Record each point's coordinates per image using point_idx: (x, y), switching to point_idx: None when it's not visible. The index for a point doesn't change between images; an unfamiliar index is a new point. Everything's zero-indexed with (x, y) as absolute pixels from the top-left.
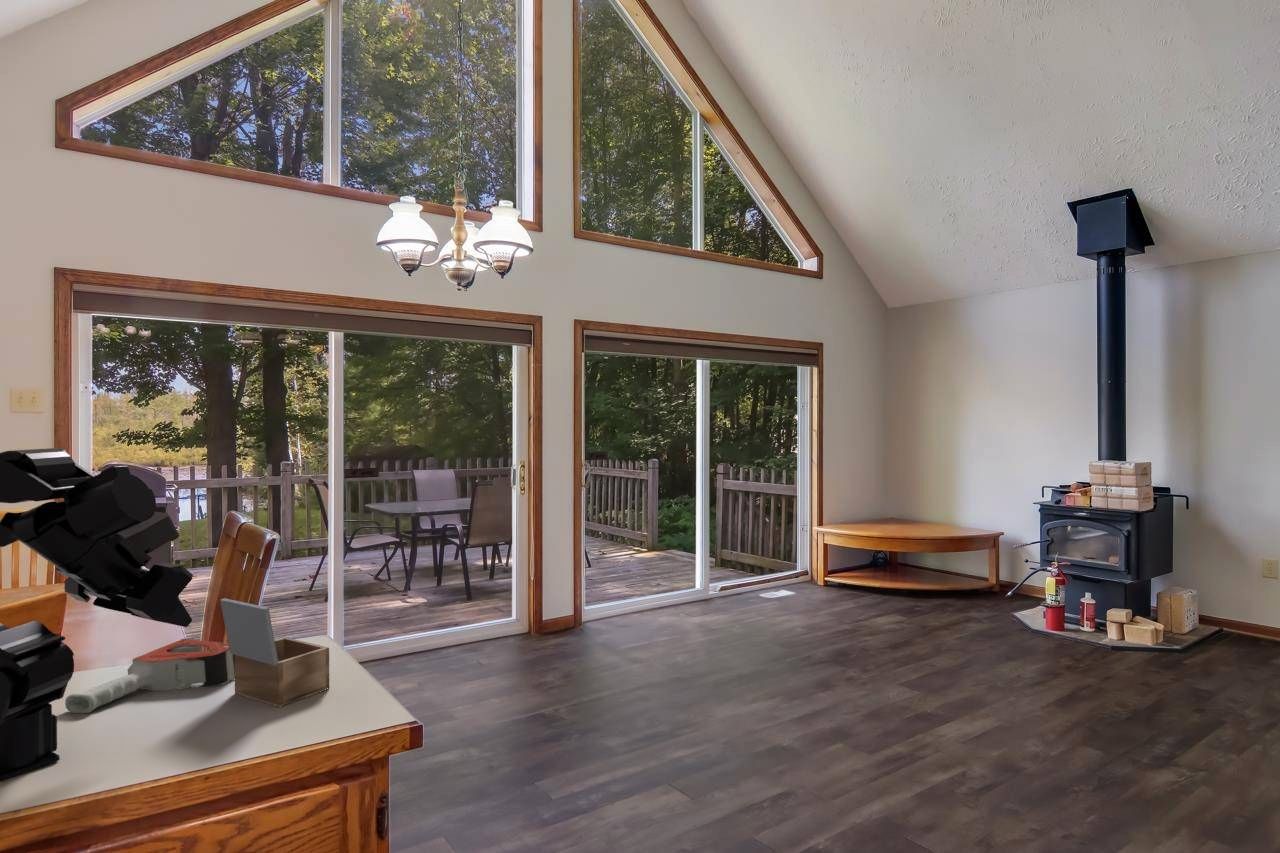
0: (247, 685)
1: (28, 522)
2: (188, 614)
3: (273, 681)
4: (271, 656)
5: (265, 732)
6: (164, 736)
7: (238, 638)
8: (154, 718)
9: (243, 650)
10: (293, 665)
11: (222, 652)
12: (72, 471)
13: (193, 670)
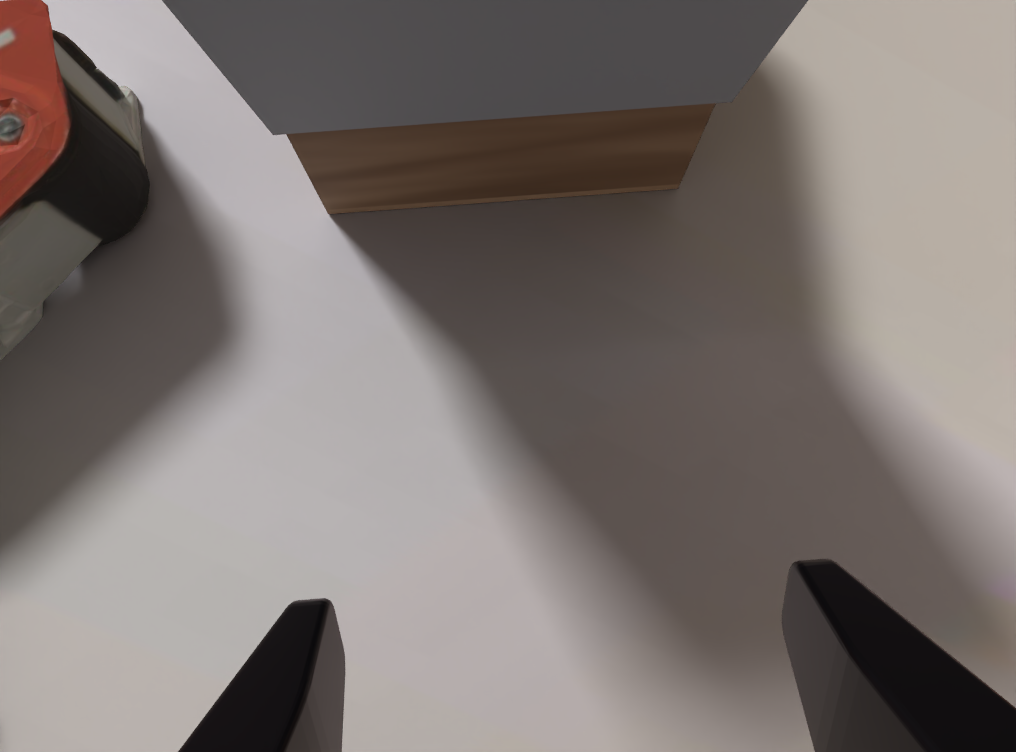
0: (426, 180)
1: None
2: (909, 626)
3: (656, 136)
4: (730, 81)
5: (915, 374)
6: (592, 674)
7: (382, 79)
8: (320, 598)
9: (424, 106)
10: None
11: (67, 98)
12: None
13: (24, 259)
